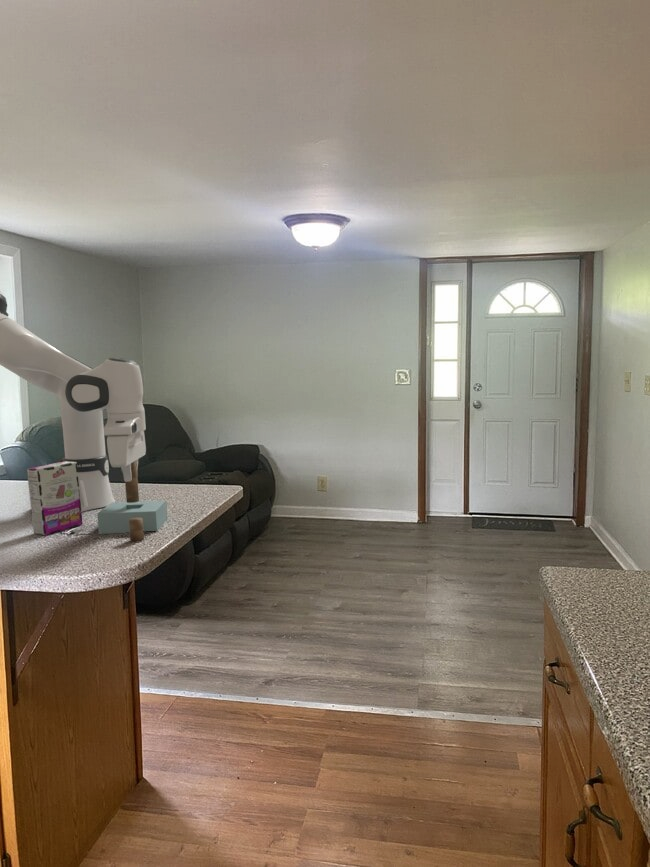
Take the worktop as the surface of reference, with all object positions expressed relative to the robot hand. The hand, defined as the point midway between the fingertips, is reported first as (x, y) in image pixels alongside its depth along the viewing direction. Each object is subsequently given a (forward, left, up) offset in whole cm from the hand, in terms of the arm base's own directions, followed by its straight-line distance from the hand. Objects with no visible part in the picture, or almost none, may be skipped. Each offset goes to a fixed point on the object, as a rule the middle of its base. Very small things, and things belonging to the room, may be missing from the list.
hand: (130, 479), depth 163 cm
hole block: (0, 0, -12) cm, 12 cm away
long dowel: (0, 0, -6) cm, 6 cm away
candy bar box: (-19, 0, -12) cm, 22 cm away
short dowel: (+4, -13, -12) cm, 18 cm away
